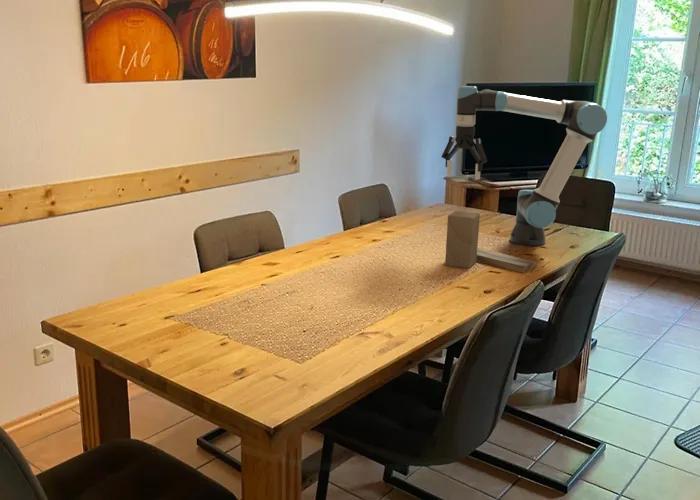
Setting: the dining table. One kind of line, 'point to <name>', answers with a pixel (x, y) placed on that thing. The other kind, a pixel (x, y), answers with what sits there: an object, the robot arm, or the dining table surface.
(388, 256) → the dining table surface
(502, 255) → the curved panel
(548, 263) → the dining table surface
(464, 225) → the wooden block
